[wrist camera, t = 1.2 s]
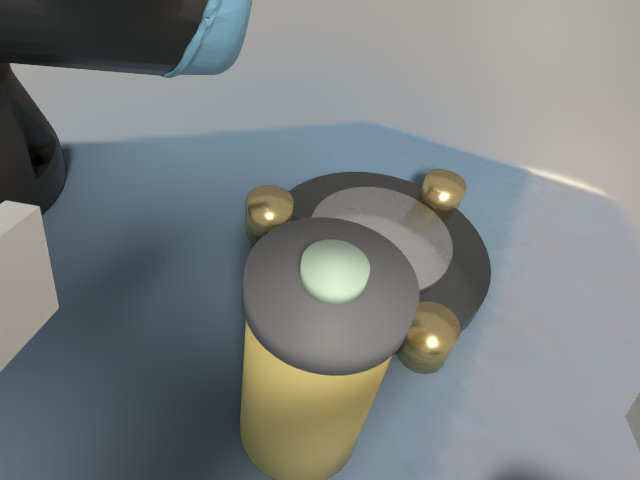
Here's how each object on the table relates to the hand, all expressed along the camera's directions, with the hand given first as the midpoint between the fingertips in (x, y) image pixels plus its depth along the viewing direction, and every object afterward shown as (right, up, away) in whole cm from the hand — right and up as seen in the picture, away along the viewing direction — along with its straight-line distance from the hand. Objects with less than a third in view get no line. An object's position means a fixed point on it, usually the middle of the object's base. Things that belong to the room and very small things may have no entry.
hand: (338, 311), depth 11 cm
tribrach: (+4, 0, +28) cm, 28 cm away
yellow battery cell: (-2, -9, +18) cm, 20 cm away
